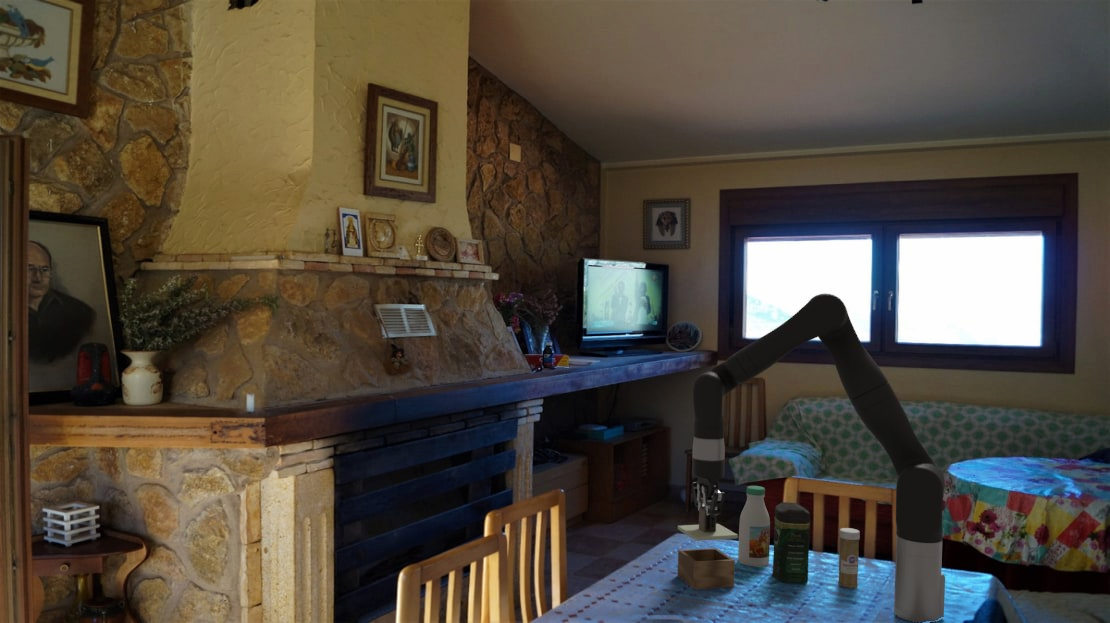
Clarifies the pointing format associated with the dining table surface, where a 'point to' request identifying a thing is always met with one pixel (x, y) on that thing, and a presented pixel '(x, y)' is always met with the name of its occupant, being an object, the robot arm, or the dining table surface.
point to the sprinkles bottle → (848, 557)
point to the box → (706, 568)
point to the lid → (702, 534)
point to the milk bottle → (754, 529)
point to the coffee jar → (791, 543)
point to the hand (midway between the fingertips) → (707, 528)
